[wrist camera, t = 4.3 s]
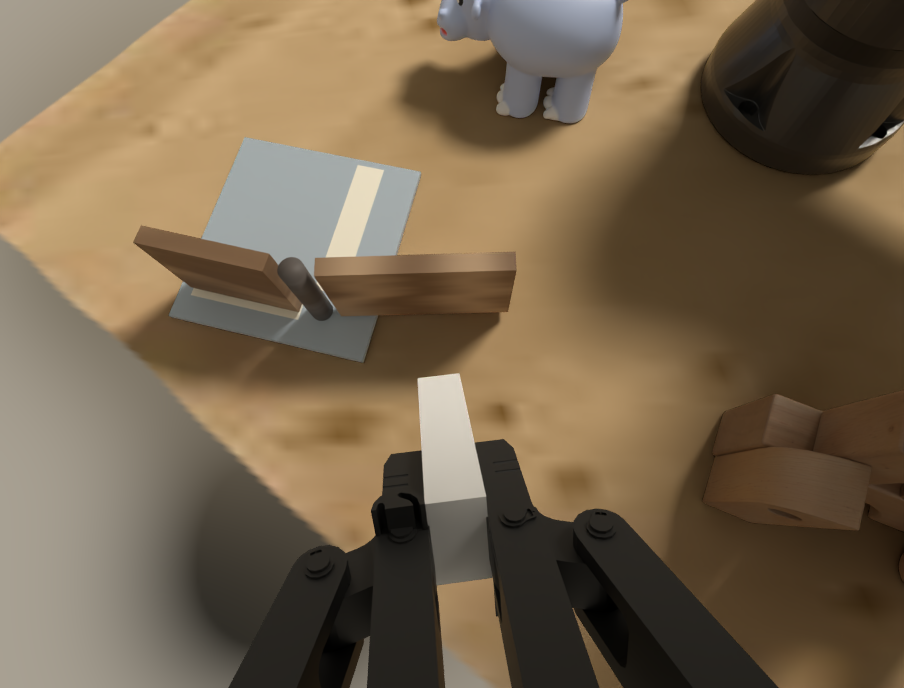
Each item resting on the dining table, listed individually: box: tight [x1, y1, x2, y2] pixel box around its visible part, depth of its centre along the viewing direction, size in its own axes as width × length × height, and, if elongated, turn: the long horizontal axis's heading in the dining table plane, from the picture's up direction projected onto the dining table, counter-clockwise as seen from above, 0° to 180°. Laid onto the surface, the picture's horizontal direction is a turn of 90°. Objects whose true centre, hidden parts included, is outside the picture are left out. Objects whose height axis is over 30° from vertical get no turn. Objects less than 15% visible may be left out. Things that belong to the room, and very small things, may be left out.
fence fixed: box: [133, 226, 333, 321], centre depth 35 cm, size 2×11×8 cm, turn 76°
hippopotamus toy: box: [437, 0, 628, 123], centre depth 40 cm, size 11×15×10 cm
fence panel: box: [314, 252, 516, 316], centre depth 34 cm, size 12×1×7 cm, turn 91°
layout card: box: [169, 137, 421, 363], centre depth 40 cm, size 16×15×1 cm
